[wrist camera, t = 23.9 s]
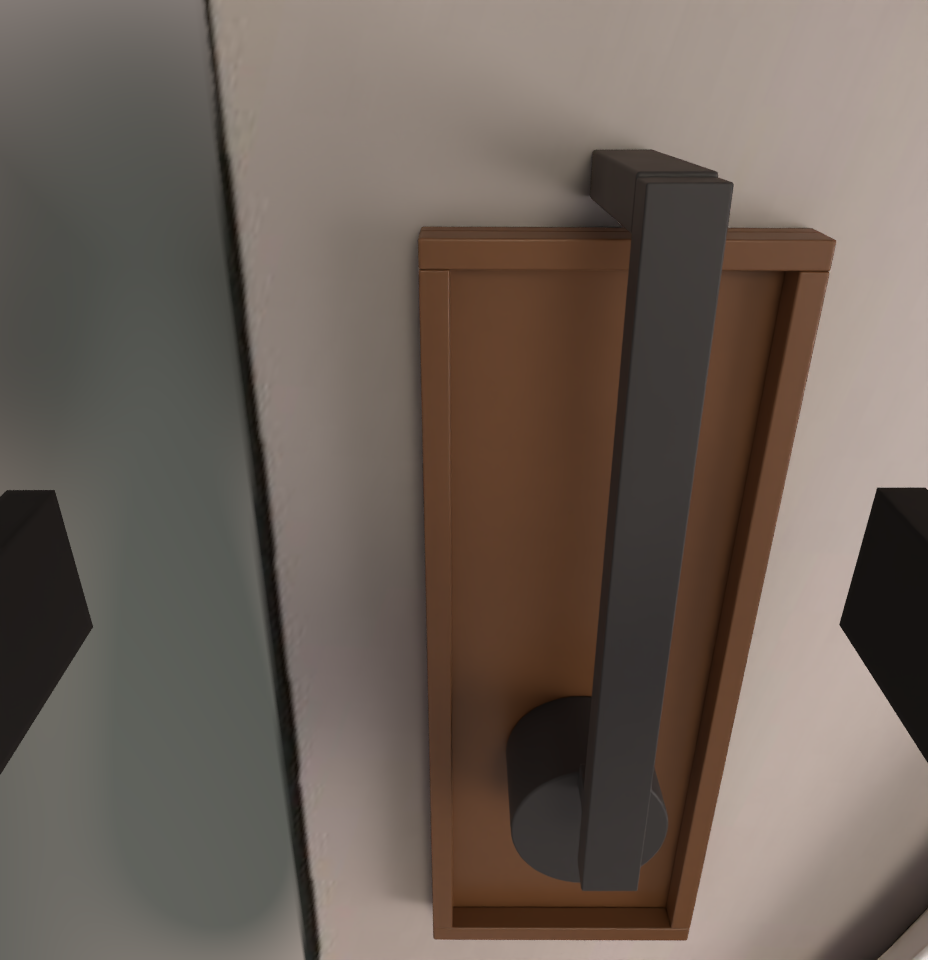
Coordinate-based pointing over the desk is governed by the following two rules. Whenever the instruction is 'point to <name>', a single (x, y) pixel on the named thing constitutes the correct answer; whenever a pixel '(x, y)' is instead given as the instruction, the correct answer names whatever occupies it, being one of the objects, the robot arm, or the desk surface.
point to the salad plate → (911, 942)
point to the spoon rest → (585, 541)
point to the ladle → (631, 539)
